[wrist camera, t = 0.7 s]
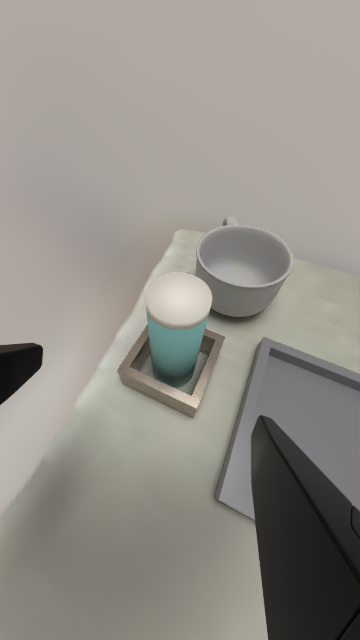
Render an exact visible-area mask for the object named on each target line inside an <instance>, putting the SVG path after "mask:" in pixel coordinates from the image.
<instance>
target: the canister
mask: <svg viewBox="0 0 360 640" xmlns="http://www.w3.org/2000/svg"><path fill="white" fill-rule="evenodd" d="M145 301H146V310H147V320H148V329H149V339H150V348H151V358H152V367H153V374H154V376H155V378H156V379H157V380H158V381H161V382H163V383H165V384H167V385H169V386H171V387H173V388H176V387H181V386H183V385H185V384H186V383H187V382H188V381H189V380H190V379H191V378H192V376H193V373H194V369H195V365H196V361H197V357H198V354H199V350H200V346H201V342H202V339H203V335H204V331H205V327H206V323H207V320H208V316H209V312H210V308H211V304H212V293H211V290H210V288H209V287H208V285H207V284H206V283H205V282H204V281H203V280H201V279H200V278H198V277H196V276H194V275H192V274H188V273H183V272H171V273H166V274H163V275H161V276H159V277H157V278H155V279H154V280H153V281H152V282H151V283H150V284H149V285H148V287H147V289H146V293H145Z"/></svg>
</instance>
